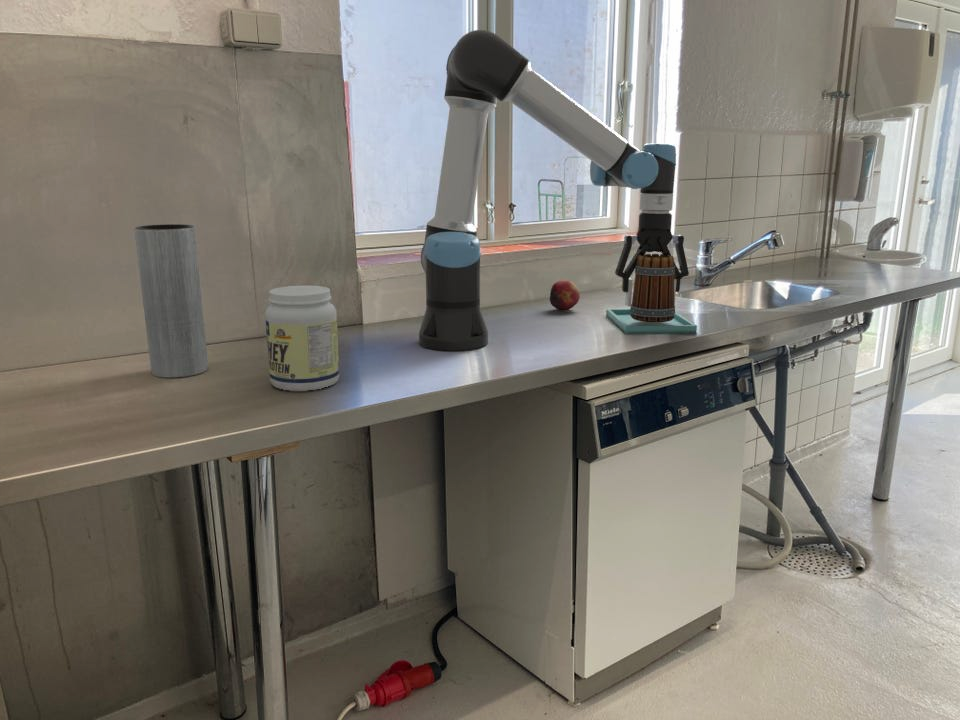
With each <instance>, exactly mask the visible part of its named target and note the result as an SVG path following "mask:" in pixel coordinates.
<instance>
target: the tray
mask: <svg viewBox="0 0 960 720" xmlns="http://www.w3.org/2000/svg"><path fill="white" fill-rule="evenodd" d="M630 314H631V313H630V308H606V311H605V317H606V318H607V319H609V320H610V322H612V323H613V325H615V326H616V327H617V328H618V329H619V330H620V331H621V332H622V333H624V335H649V334H650V335H652V334H654V335H659V334H660V335H662V334H664V335H665V334H675V335H676V334H697V330H698V329H697V328H698V326H697V324H695V323H693V322H692V321H690V320H689V319H688V318H686V317H684V316H682V315H681V314H680V313H678V312H676V311H675V315H674V318H673V319H672V320H671V321H668V322H643V321H638V320H635V319H633V318H632V317H631V316H630Z"/></svg>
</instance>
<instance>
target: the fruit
mask: <svg viewBox="0 0 960 720" xmlns="http://www.w3.org/2000/svg"><path fill="white" fill-rule="evenodd" d="M551 286H552V287H551V289H550V293H549V301H550V305H551V306H552V307H553V308H554V309H556V310H558V311H563V312H566V311H569V310H570V309H573V308H574V307H575V306H577V304H578V303H579V300H580V297H581V295H580V294H581V293H580V291H579V289H578V286H577V285H576V283H574V282H573V281H572V280H559V281H556V282H554V283H553V284H552V285H551Z"/></svg>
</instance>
